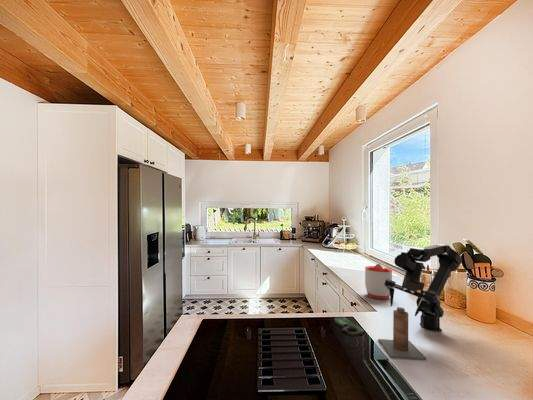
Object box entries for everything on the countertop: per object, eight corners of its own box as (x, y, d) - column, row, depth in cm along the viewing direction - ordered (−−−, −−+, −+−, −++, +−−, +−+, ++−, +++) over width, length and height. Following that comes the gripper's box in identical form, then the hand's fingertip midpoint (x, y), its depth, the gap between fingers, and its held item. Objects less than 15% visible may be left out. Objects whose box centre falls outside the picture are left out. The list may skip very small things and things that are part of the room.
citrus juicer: (394, 295, 163) (394, 262, 164) (390, 303, 148) (390, 267, 149) (368, 290, 171) (368, 259, 172) (362, 297, 157) (362, 264, 158)
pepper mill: (400, 343, 101) (400, 305, 101) (411, 350, 96) (411, 310, 96) (390, 345, 99) (390, 306, 100) (401, 352, 94) (401, 311, 95)
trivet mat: (409, 342, 103) (409, 340, 103) (426, 360, 91) (426, 357, 91) (378, 341, 104) (378, 339, 104) (390, 358, 92) (390, 355, 92)
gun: (327, 318, 122) (345, 316, 125) (327, 321, 122) (345, 319, 125) (347, 334, 107) (368, 331, 110) (347, 338, 107) (368, 334, 110)
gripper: (390, 264, 110) (379, 300, 106) (441, 281, 101) (431, 321, 97) (389, 268, 119) (379, 301, 116) (436, 284, 110) (427, 321, 107)
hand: (402, 311), depth 109 cm, fingers open, 9 cm apart
